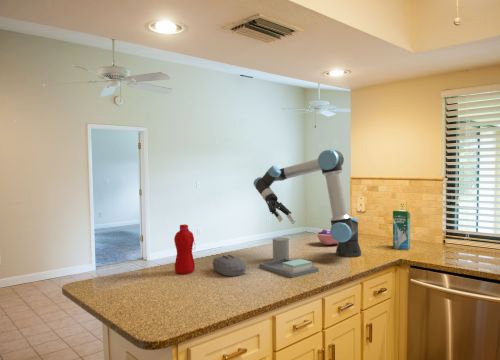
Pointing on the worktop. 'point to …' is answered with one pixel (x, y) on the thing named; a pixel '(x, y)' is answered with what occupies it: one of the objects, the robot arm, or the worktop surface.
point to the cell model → (326, 237)
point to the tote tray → (278, 268)
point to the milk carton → (401, 229)
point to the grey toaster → (229, 265)
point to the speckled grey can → (280, 248)
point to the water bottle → (184, 251)
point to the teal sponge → (296, 265)
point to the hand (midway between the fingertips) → (287, 221)
